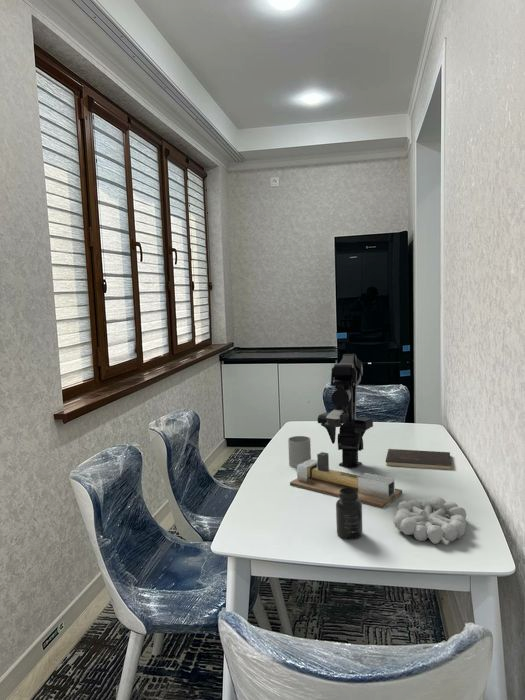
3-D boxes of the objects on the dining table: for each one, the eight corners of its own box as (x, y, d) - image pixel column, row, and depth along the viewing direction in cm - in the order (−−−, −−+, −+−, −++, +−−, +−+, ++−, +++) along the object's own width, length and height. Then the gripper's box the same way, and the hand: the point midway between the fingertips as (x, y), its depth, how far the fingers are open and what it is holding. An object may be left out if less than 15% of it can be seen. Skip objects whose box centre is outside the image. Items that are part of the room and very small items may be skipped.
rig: (310, 473, 179) (309, 458, 179) (396, 492, 159) (396, 476, 158) (297, 480, 173) (296, 465, 172) (385, 501, 153) (385, 484, 152)
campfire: (490, 542, 128) (490, 519, 127) (412, 552, 124) (411, 529, 124) (446, 508, 149) (445, 489, 149) (378, 516, 146) (377, 496, 146)
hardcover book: (451, 471, 180) (451, 465, 180) (385, 467, 187) (385, 461, 187) (449, 457, 195) (449, 451, 195) (388, 453, 202) (388, 448, 202)
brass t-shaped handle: (309, 473, 176) (309, 449, 175) (368, 486, 162) (368, 460, 161) (305, 475, 174) (304, 451, 173) (364, 489, 160) (363, 463, 159)
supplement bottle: (334, 529, 138) (333, 486, 136) (358, 527, 138) (357, 485, 137) (339, 541, 131) (338, 496, 130) (365, 539, 131) (365, 494, 130)
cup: (313, 462, 194) (312, 436, 193) (308, 469, 186) (307, 442, 185) (292, 460, 197) (291, 435, 196) (286, 467, 189) (285, 441, 188)
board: (312, 472, 182) (312, 470, 182) (402, 493, 161) (402, 490, 161) (289, 484, 171) (289, 482, 171) (382, 508, 150) (382, 505, 150)
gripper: (308, 402, 172) (309, 447, 173) (357, 408, 160) (358, 456, 161) (325, 396, 180) (326, 439, 182) (373, 401, 168) (374, 447, 170)
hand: (345, 445), depth 174 cm, fingers open, 9 cm apart
